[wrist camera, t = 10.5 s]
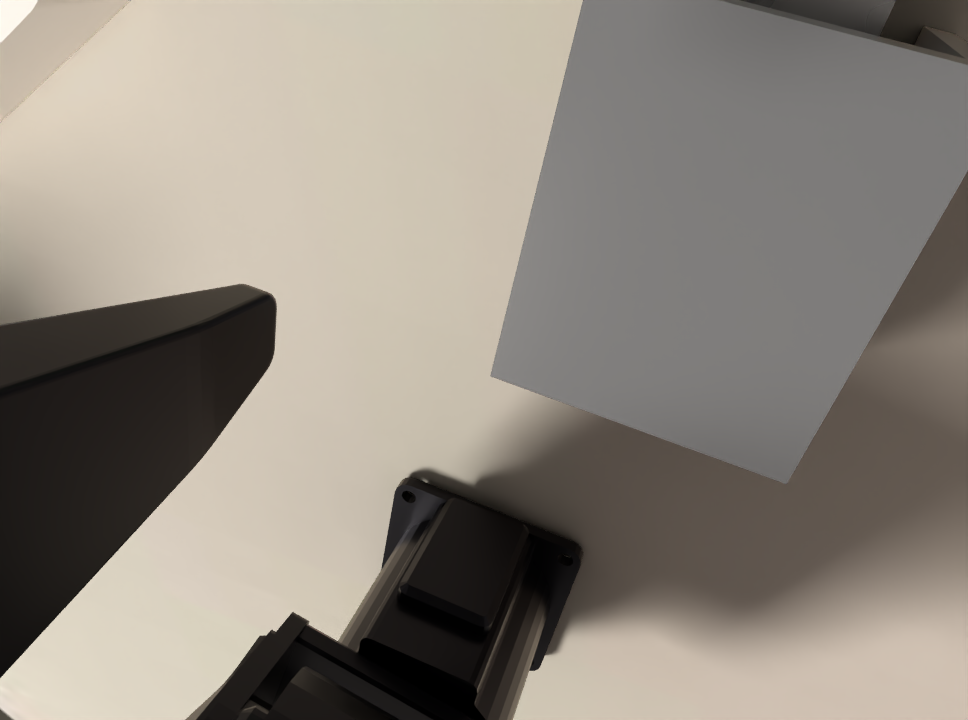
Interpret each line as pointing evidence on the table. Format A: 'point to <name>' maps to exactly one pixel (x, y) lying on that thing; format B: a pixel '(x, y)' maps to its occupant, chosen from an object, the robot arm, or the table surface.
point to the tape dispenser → (43, 41)
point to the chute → (728, 218)
